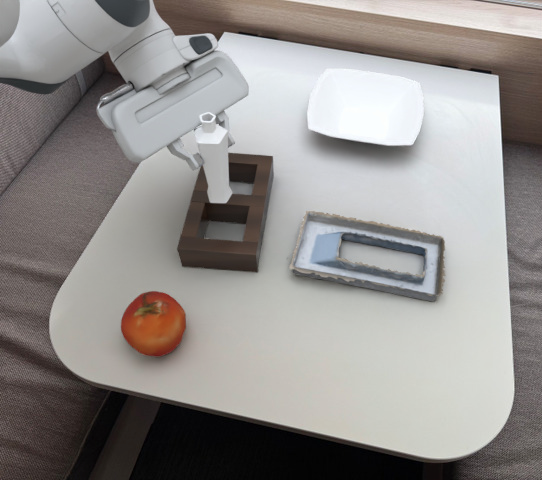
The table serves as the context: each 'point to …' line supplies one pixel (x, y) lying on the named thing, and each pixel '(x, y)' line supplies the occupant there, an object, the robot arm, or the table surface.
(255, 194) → the rack
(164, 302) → the tomato
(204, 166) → the perfume bottle
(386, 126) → the bowl
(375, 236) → the picture frame
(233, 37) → the table surface
